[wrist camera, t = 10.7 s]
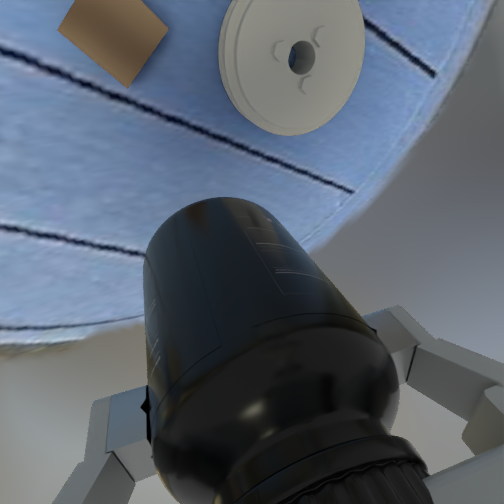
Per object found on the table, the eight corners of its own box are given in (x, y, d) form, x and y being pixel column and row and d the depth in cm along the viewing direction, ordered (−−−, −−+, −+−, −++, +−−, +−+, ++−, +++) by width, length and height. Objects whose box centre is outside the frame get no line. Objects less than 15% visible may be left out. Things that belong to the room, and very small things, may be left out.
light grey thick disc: (280, 153, 35) (298, 167, 31) (186, 60, 28) (194, 62, 24) (366, 54, 32) (400, 54, 28) (286, -77, 25) (314, -101, 21)
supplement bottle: (230, 329, 18) (339, 662, 8) (113, 284, 14) (59, 778, 5) (312, 237, 16) (573, 519, 6) (202, 158, 13) (416, 530, 3)
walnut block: (107, -26, 24) (100, -42, 20) (164, 31, 26) (168, 28, 22) (70, 33, 25) (56, 30, 21) (129, 82, 27) (127, 88, 23)
